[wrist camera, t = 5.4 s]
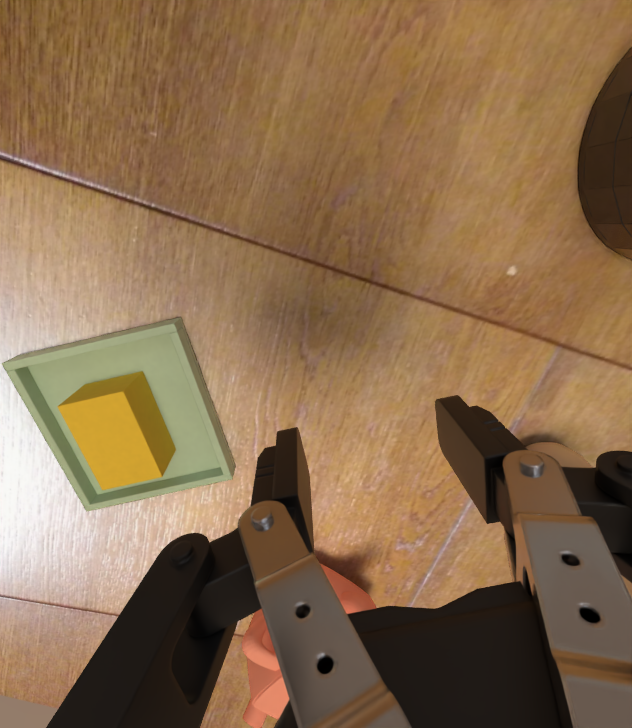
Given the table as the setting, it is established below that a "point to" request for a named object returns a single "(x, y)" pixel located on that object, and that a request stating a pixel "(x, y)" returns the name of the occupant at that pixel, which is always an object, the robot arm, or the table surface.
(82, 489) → the tray
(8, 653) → the table surface
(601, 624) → the robot arm
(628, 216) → the bowl
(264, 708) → the teapot
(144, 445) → the sponge
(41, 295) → the table surface
